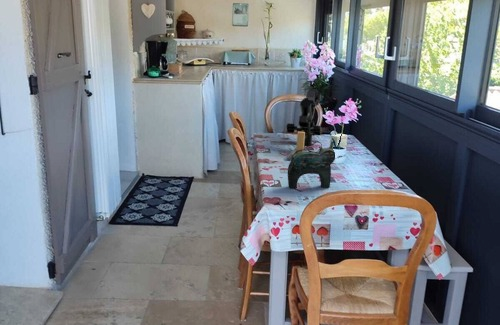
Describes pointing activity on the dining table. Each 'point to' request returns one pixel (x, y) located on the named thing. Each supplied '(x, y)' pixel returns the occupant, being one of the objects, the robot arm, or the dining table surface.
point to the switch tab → (300, 141)
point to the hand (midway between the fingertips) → (301, 142)
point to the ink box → (337, 138)
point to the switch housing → (293, 153)
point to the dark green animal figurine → (311, 165)
